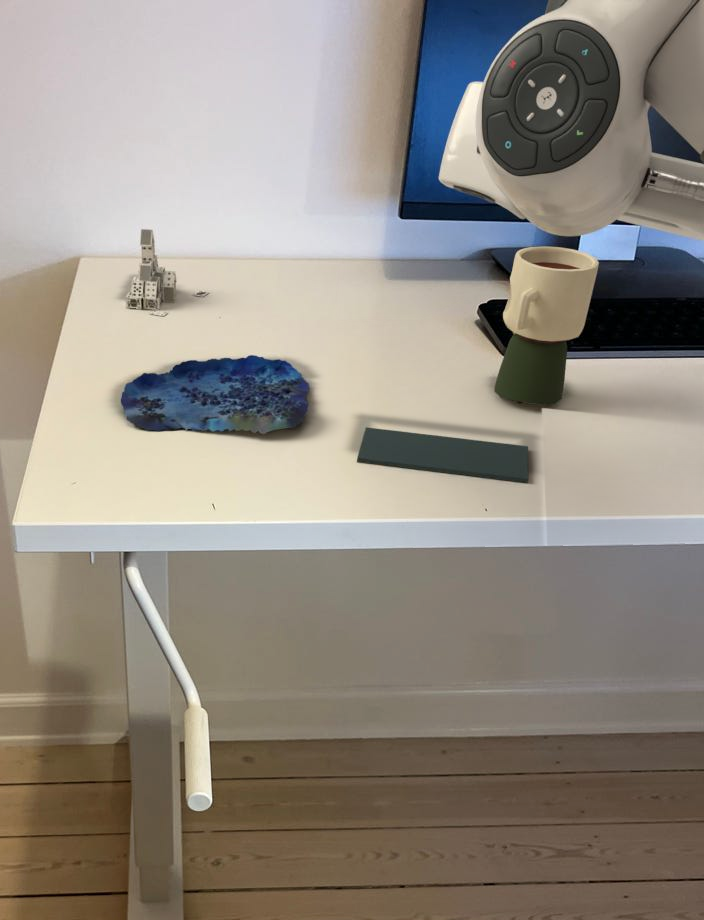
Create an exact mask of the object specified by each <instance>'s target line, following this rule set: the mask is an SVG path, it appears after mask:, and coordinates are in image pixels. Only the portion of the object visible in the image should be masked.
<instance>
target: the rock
mask: <svg viewBox="0 0 704 920" xmlns="http://www.w3.org/2000/svg"><path fill="white" fill-rule="evenodd" d="M309 390H310V383H309V382H308V381H306V380H305V378H304V377H303V374H302V373H301V372H299V371H298V370H297V369H296V368H295V367H293V365H292V364H291V363H290V362H289V361H288V362H287V360H281V359H279V358H278V359H270V358H269V359H268V358H264V357H263V356H258V355H254V354H250V355H247V356H246V357H239V358H234V359H233V358H231V357H222V358H220V359H218V358H211V359H207V360H201V361H199V360H196V359H190V360H186V361H181V363H179V364H175V365H174V366H173V367H172V368H171V369H170V370H169V372H168V371H166V372H165V373H159V374H157V373H155V372H150V373H149V372H148V373H147V372H143V373H142V374H141V375H139V376H137V377H136V378H134V379H133V380H132V381H129V382H127V383H126V384H125V385H124V388H123V391H122V392H121V398H120V404H121V406H122V410H123V413H124V415H125V416H126V420H127V422H129V423H131V424H132V425H133V426H134V427H135V428H139V429H144V430H145V431H155V432H160V431H162V430H166V431H167V430H168V431H169V430H170V431H176V430H178V429H184V430H185V431H187V430H189V429H190V430H192V431H193V432H195V431H201V432H204V431H207V430H210V431H211V432H216V431H220V432H223V431H224V430H228V431H229V432H231V431H233V430H234V431H241V430H243V431H246V432H247V431H250V432H251V433H254V434H255V433H257V432H259V433H260V434H261V435H265V434H267V433H269V432H272V431H276V430H281V429H294V428H296V427H297V426H298V425H299V424H302V422H303V419H304V418H305V415H307V412H308V410H309V407H310V404H309V403H310V402H309V401H306V398H307V396H308V395H309V393H308V392H309Z"/></svg>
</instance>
